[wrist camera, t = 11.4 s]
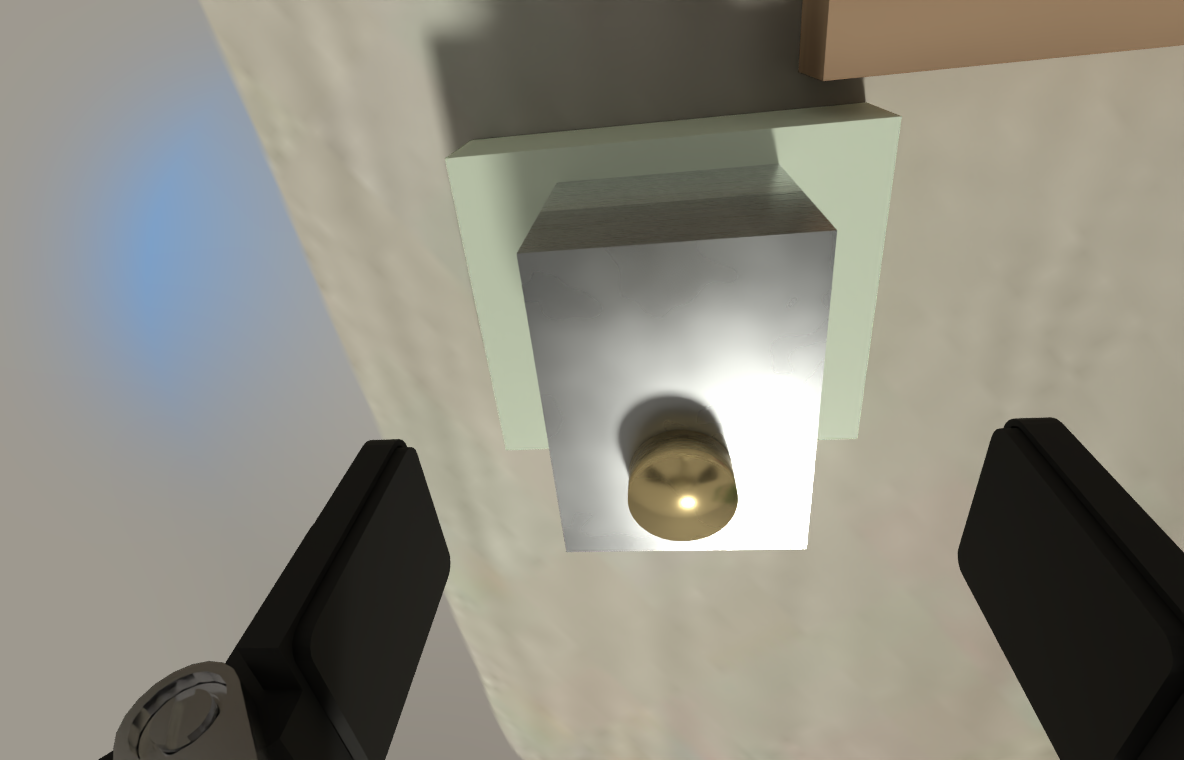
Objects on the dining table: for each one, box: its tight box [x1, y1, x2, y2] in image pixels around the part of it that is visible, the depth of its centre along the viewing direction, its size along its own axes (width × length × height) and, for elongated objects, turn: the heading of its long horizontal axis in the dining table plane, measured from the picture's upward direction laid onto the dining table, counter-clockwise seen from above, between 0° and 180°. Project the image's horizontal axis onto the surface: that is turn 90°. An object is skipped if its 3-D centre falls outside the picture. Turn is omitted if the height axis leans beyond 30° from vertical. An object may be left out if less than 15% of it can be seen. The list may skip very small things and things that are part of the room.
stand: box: [445, 102, 902, 450], centre depth 20 cm, size 10×12×3 cm
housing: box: [517, 163, 837, 552], centre depth 16 cm, size 8×6×7 cm
